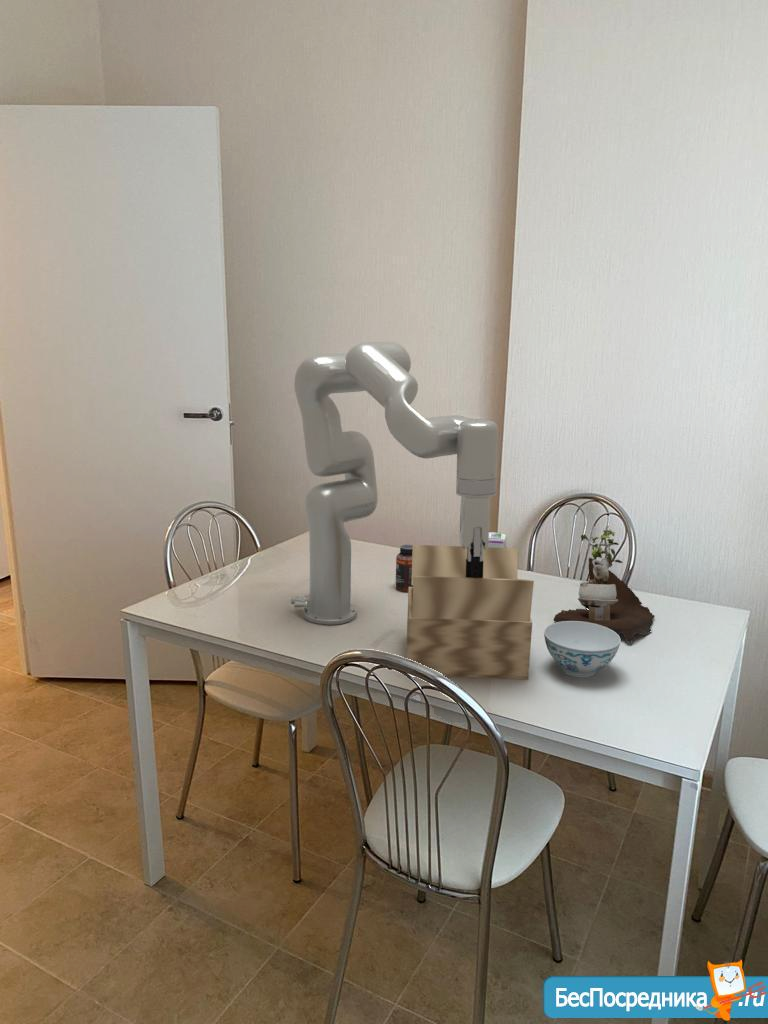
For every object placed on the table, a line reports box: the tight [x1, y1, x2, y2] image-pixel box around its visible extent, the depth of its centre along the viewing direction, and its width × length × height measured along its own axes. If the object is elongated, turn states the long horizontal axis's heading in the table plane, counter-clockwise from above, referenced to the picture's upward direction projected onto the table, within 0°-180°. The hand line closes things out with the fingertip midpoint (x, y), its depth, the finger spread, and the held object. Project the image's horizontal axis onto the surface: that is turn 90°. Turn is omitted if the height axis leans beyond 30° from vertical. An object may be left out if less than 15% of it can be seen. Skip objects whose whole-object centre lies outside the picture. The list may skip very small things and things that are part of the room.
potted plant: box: [553, 528, 656, 644], centre depth 194 cm, size 20×19×25 cm
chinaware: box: [543, 621, 621, 678], centre depth 167 cm, size 15×15×8 cm
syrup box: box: [488, 531, 507, 548], centre depth 212 cm, size 6×6×14 cm
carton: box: [406, 587, 533, 680], centre depth 171 cm, size 24×18×12 cm
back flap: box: [411, 544, 519, 585], centre depth 179 cm, size 23×9×1 cm
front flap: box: [412, 576, 535, 622], centre depth 159 cm, size 23×9×1 cm
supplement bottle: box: [395, 544, 414, 593], centre depth 211 cm, size 6×6×11 cm
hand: (474, 579), depth 159 cm, fingers closed
